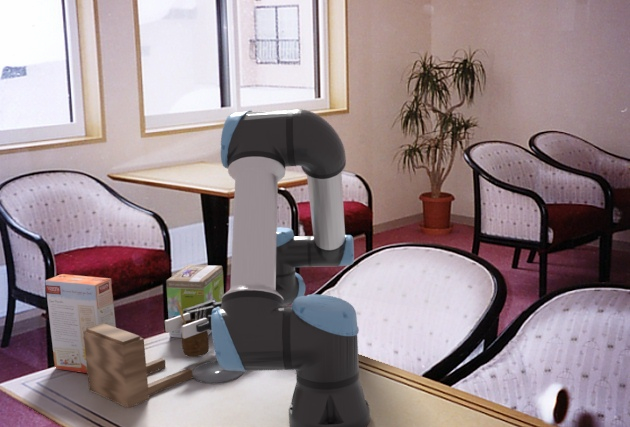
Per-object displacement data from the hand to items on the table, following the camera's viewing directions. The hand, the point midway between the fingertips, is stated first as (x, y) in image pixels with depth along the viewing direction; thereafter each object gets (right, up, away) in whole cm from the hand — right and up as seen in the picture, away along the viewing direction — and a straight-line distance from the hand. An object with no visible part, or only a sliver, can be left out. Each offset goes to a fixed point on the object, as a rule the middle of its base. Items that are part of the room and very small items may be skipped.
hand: (174, 329), depth 177 cm
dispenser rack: (-6, -11, -5) cm, 13 cm away
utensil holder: (+4, -6, +5) cm, 9 cm away
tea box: (+1, -4, +29) cm, 29 cm away
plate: (+9, -9, 0) cm, 13 cm away
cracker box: (-21, -10, +6) cm, 23 cm away
